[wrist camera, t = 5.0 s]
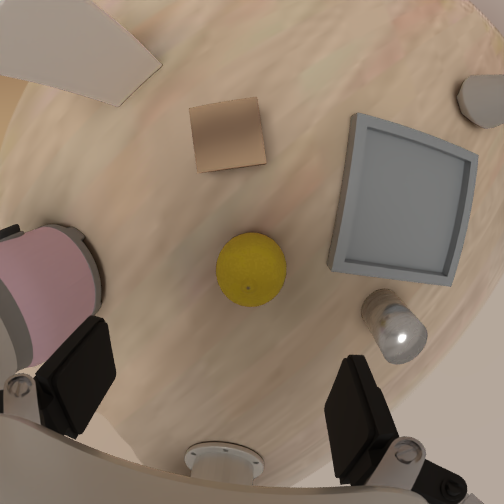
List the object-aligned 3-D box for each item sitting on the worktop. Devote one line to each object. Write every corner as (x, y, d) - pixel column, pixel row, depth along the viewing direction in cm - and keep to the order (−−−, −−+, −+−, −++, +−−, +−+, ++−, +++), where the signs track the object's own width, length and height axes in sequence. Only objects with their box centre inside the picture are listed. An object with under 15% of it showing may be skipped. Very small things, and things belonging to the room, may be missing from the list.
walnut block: (266, 164, 25) (266, 163, 20) (210, 172, 25) (197, 173, 20) (258, 110, 23) (257, 96, 18) (203, 118, 24) (189, 108, 19)
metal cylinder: (391, 327, 29) (416, 363, 22) (356, 324, 29) (376, 364, 22) (403, 291, 27) (434, 323, 21) (367, 286, 27) (393, 320, 21)
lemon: (283, 223, 26) (290, 248, 18) (283, 281, 28) (288, 324, 20) (222, 224, 26) (204, 248, 19) (225, 281, 28) (210, 323, 20)
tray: (442, 279, 27) (451, 286, 25) (326, 264, 27) (331, 271, 25) (467, 155, 23) (478, 155, 21) (351, 116, 23) (357, 112, 21)
